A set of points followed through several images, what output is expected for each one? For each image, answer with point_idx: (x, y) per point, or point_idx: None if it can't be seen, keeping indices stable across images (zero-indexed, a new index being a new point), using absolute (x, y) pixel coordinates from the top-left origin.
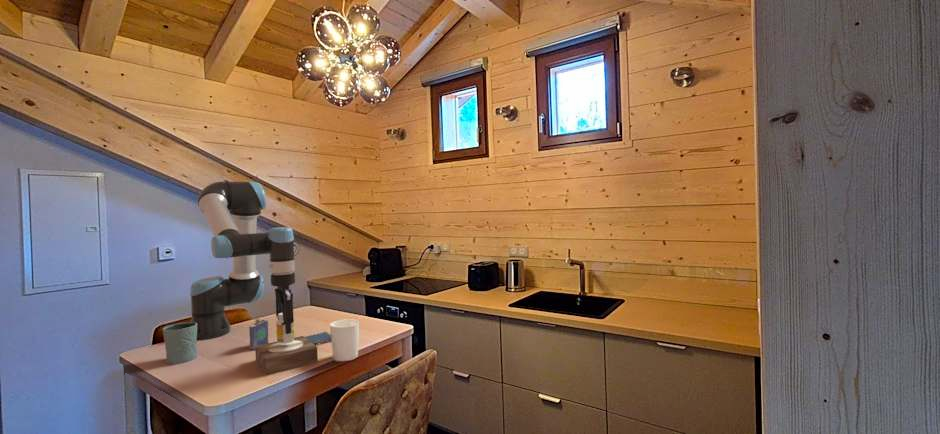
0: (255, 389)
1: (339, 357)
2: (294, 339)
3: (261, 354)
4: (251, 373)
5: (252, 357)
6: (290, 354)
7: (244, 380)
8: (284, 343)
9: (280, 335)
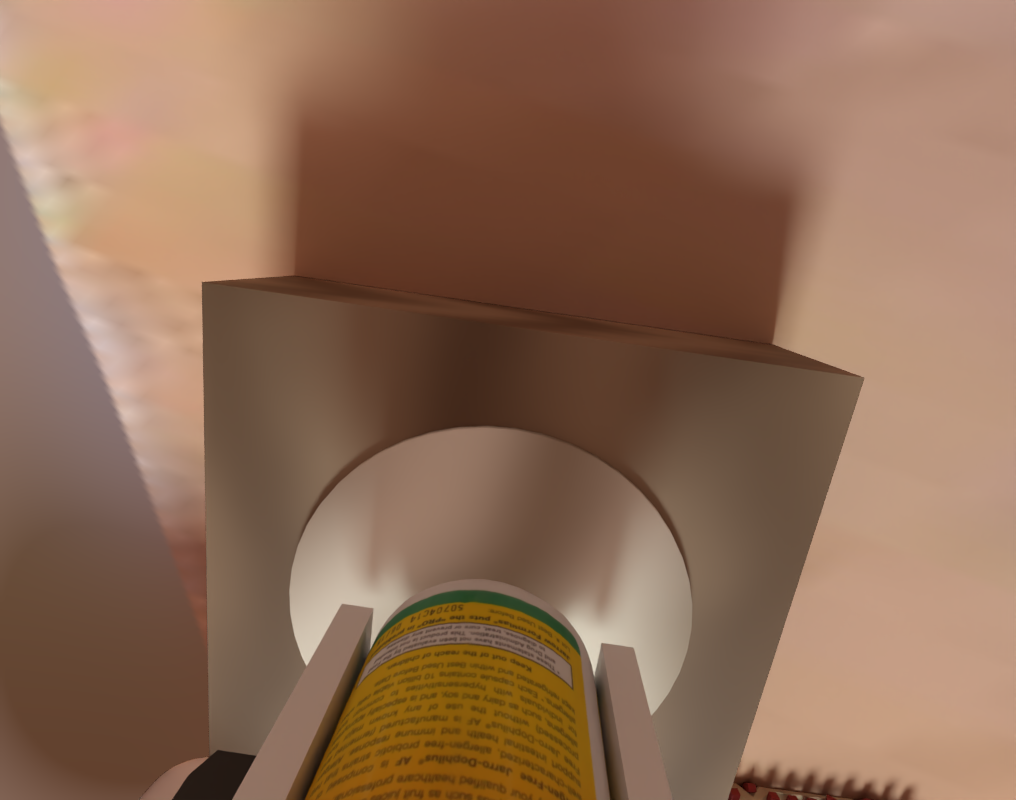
0: (16, 79)
1: (149, 792)
2: (664, 767)
3: (454, 318)
4: (442, 187)
5: (893, 351)
6: (211, 546)
7: (307, 71)
8: (338, 610)
9: (384, 676)
